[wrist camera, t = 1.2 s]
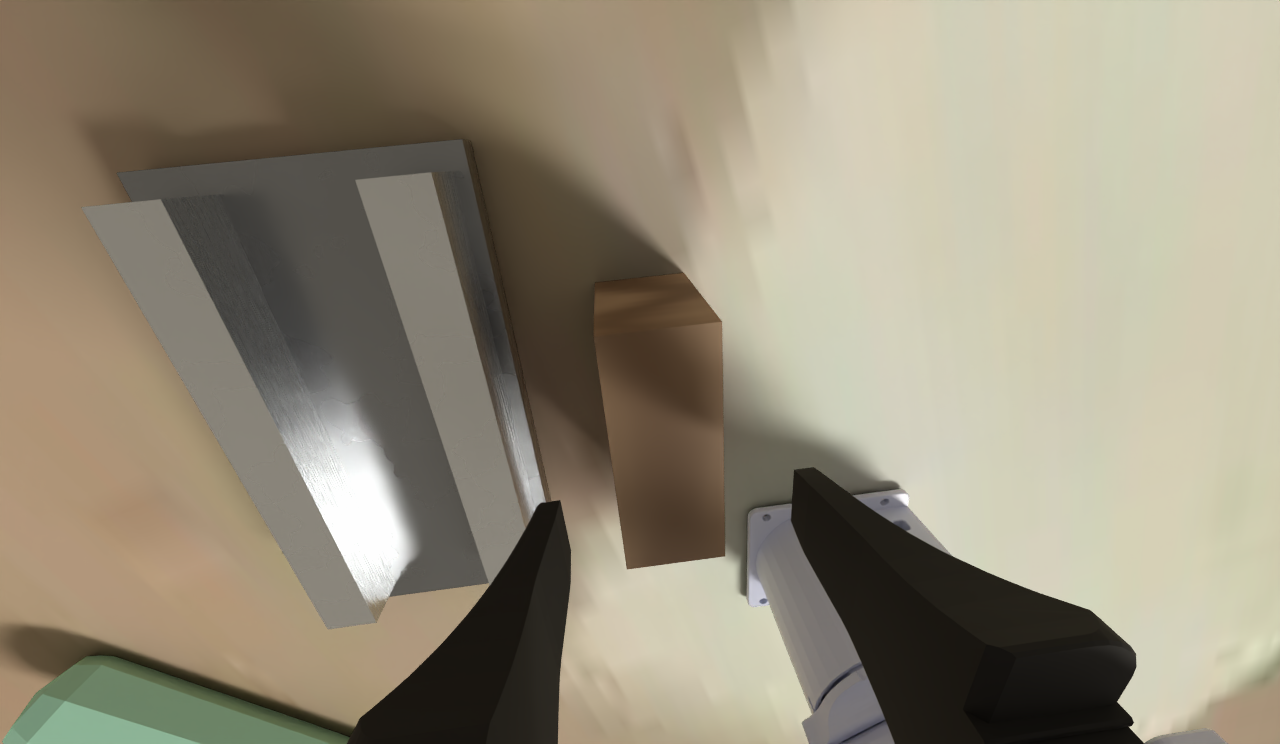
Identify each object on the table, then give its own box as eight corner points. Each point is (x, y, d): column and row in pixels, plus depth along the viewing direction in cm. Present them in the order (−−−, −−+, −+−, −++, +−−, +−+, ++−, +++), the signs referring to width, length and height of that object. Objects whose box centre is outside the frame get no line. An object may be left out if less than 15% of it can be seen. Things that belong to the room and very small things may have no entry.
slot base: (470, 140, 17) (441, 135, 14) (563, 556, 27) (558, 611, 23) (147, 171, 17) (39, 174, 14) (357, 584, 26) (323, 643, 23)
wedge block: (683, 272, 20) (722, 321, 14) (692, 455, 25) (725, 556, 18) (595, 282, 20) (593, 336, 14) (619, 464, 24) (627, 569, 18)
